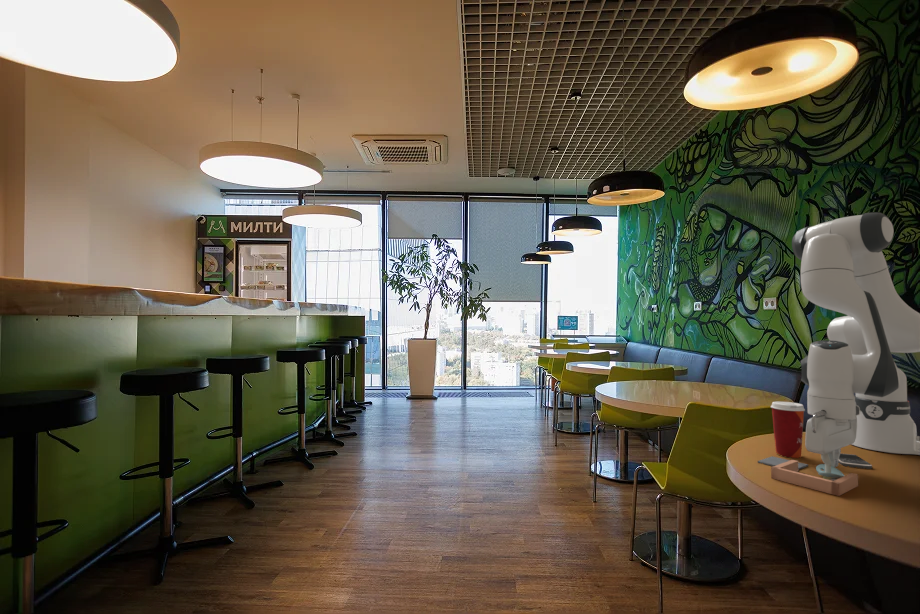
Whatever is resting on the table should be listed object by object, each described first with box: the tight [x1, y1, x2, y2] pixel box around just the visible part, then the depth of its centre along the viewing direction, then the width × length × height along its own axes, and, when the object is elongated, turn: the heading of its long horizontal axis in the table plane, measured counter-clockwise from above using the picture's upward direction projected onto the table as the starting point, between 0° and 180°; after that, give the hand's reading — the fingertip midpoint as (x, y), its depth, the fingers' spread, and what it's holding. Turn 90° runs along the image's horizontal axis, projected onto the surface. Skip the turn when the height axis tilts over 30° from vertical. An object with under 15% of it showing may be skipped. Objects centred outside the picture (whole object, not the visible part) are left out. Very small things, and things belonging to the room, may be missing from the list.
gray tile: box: [757, 455, 809, 471], centre depth 113 cm, size 8×8×1 cm
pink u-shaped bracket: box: [770, 459, 859, 497], centre depth 101 cm, size 11×12×2 cm
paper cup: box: [770, 401, 806, 459], centre depth 122 cm, size 8×8×14 cm
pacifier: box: [815, 453, 845, 481], centre depth 102 cm, size 7×6×6 cm
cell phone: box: [838, 452, 873, 470], centre depth 116 cm, size 6×11×1 cm, turn 157°
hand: (831, 466), depth 106 cm, fingers closed
